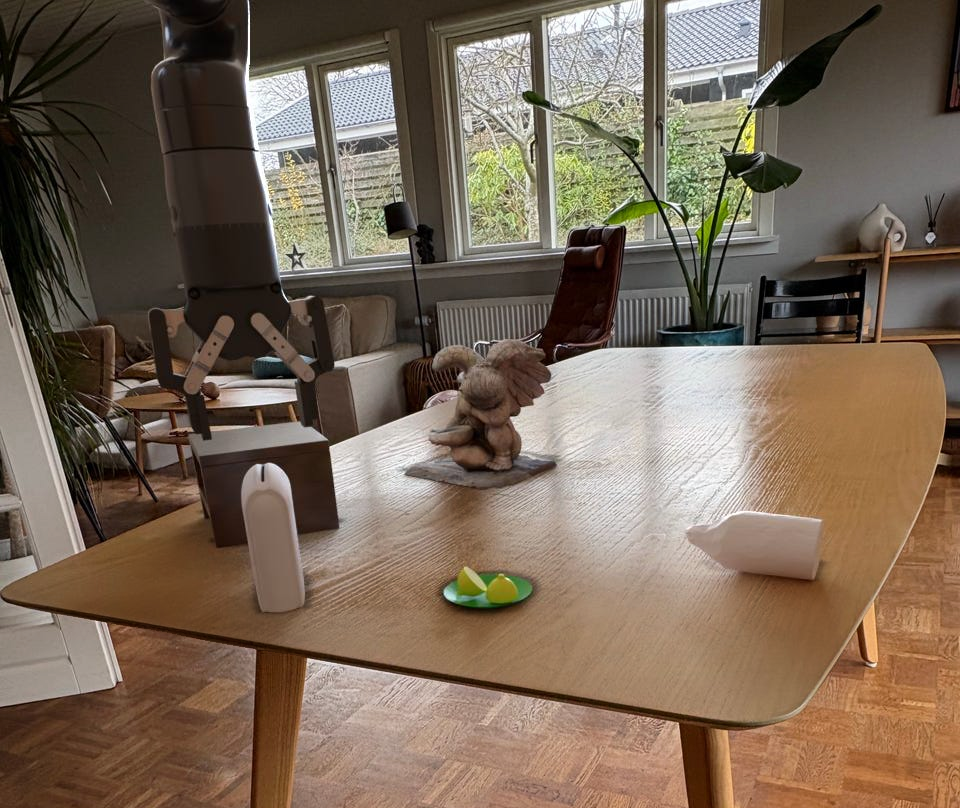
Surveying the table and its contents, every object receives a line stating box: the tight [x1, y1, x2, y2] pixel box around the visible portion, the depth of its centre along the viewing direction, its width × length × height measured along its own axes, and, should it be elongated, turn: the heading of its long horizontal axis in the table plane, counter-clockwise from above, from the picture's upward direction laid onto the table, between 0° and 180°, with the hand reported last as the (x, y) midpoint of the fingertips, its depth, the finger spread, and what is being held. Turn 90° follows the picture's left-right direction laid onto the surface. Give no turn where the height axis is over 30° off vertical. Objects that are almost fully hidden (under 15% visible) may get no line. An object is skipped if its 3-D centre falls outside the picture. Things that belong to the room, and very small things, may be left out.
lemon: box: [443, 566, 533, 610], centre depth 75 cm, size 8×8×3 cm
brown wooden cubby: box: [187, 420, 340, 548], centre depth 99 cm, size 14×14×10 cm
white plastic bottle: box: [684, 510, 825, 581], centre depth 77 cm, size 6×12×6 cm, turn 63°
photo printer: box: [241, 463, 306, 613], centre depth 75 cm, size 10×4×12 cm, turn 13°
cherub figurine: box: [403, 338, 557, 490], centre depth 116 cm, size 18×18×18 cm
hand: (257, 432), depth 72 cm, fingers open, 8 cm apart
